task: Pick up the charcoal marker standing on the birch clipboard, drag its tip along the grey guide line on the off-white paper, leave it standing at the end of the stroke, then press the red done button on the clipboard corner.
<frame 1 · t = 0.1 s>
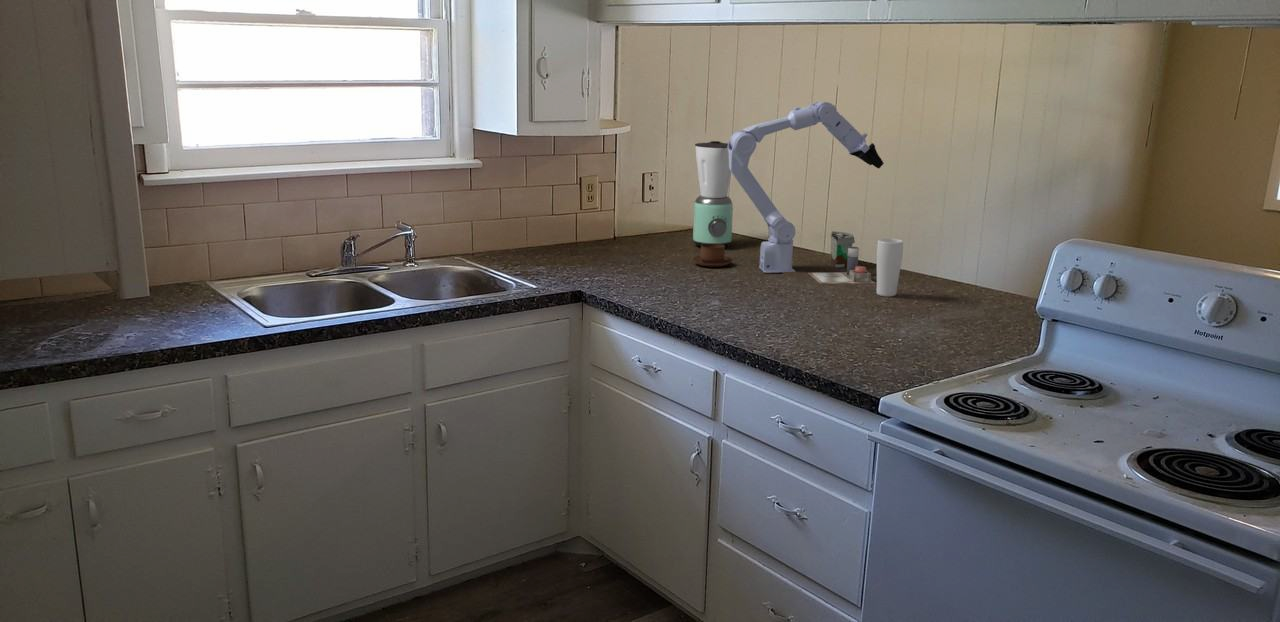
hand: (877, 164, 291), 32 cm above the counter, tool tilted 50°, fingers open, 7 cm apart
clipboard: (840, 279, 285), on the counter
drinking glass: (886, 295, 267), on the counter
cup and saucer: (712, 266, 303), on the counter
done button: (860, 270, 281), point 3 cm above the counter, slide at 0.0 cm
mint green blender: (711, 246, 333), on the counter
marker: (851, 274, 289), point 1 cm above the counter, touching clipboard
food container: (842, 267, 303), on the counter
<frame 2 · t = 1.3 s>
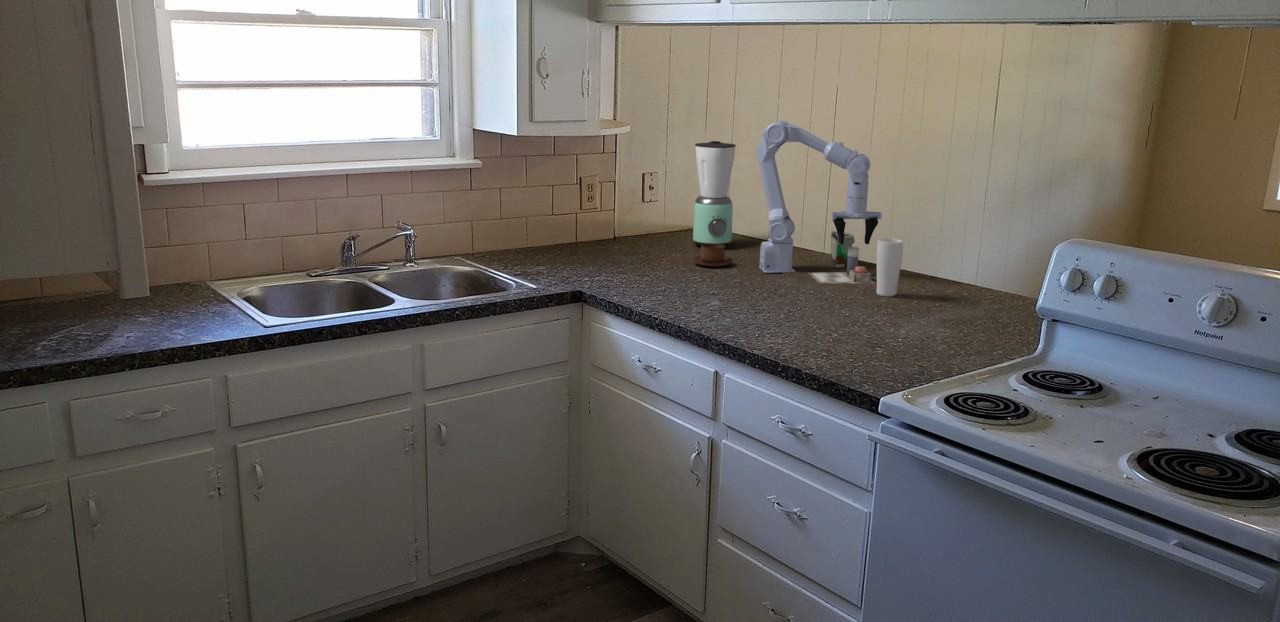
hand: (853, 243, 287), 10 cm above the counter, tool pointing down, fingers open, 7 cm apart
nothing on the counter moved.
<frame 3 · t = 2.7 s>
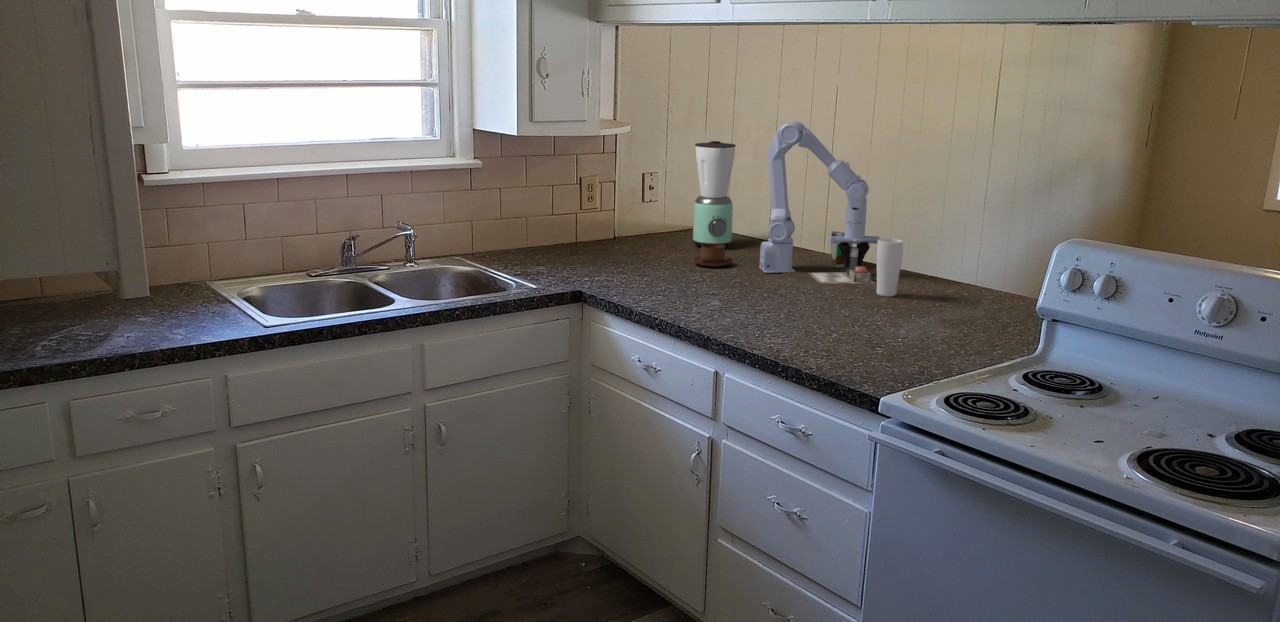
hand: (852, 267, 289), 3 cm above the counter, tool pointing down, fingers closed on marker, 3 cm apart
marker: (851, 274, 289), point 1 cm above the counter, touching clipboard, gripper
everything else where it was.
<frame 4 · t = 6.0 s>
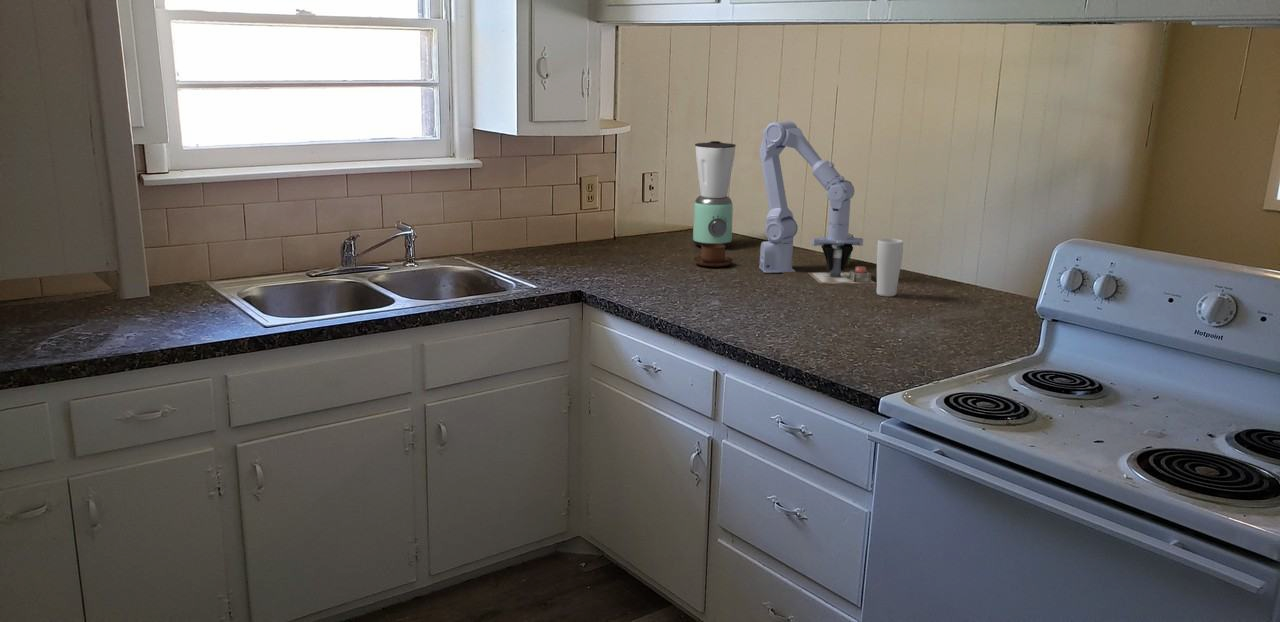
hand: (835, 269, 285), 3 cm above the counter, tool pointing down, fingers closed on marker, 3 cm apart
marker: (835, 276, 286), point 1 cm above the counter, touching gripper
everything else where it was.
when the fingers open (3 cm above the counter, at t = 7.1 s): marker stays where it is, resting on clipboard.
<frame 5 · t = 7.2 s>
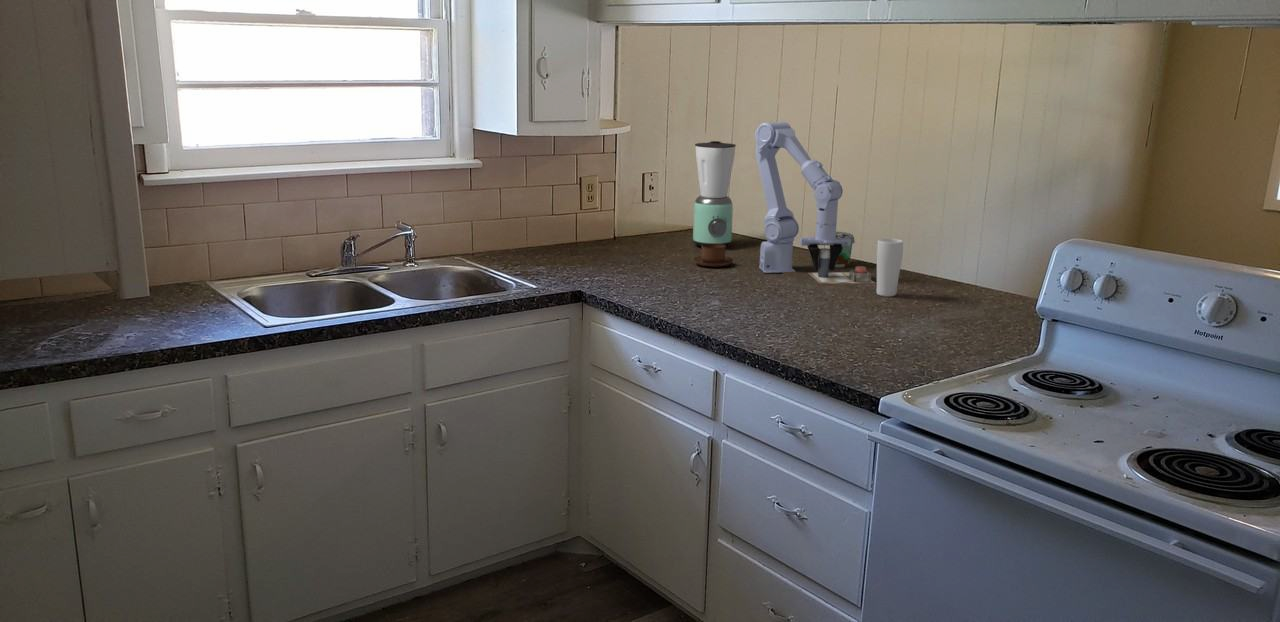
hand: (823, 269, 285), 3 cm above the counter, tool pointing down, fingers open, 4 cm apart
marker: (823, 276, 285), point 1 cm above the counter, touching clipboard
everything else where it was.
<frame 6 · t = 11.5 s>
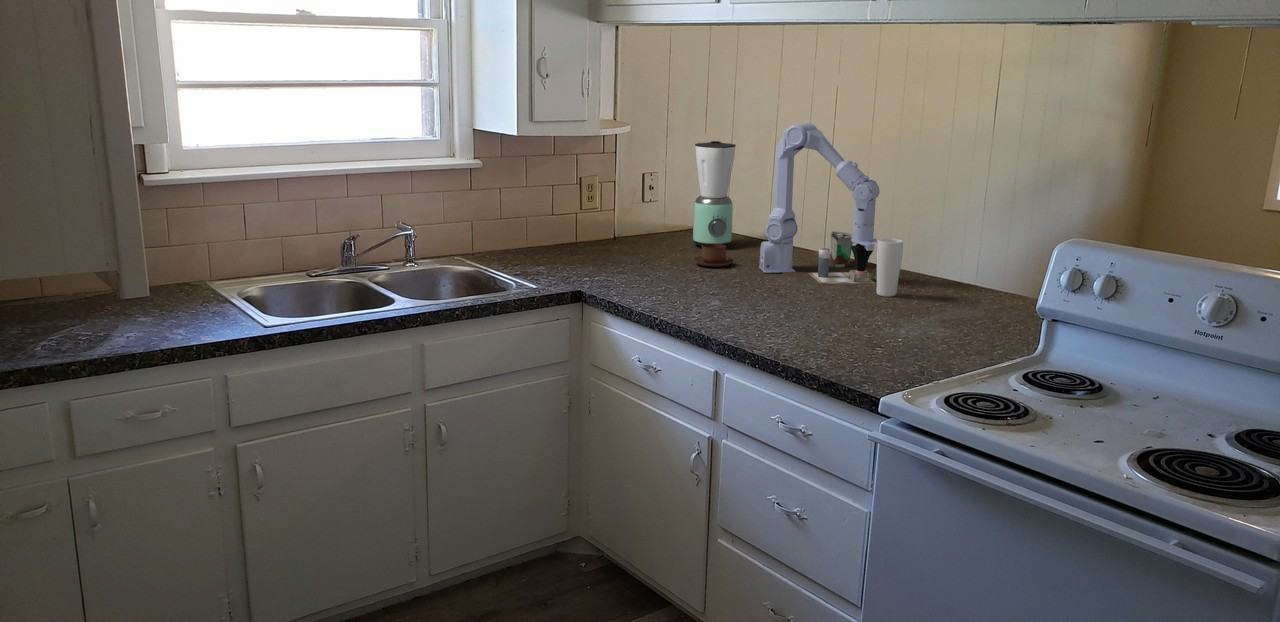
hand: (860, 270, 281), 3 cm above the counter, tool pointing down, fingers closed, pressing on done button
done button: (860, 274, 281), point 2 cm above the counter, slide at 1.0 cm, touching gripper
everything else where it was.
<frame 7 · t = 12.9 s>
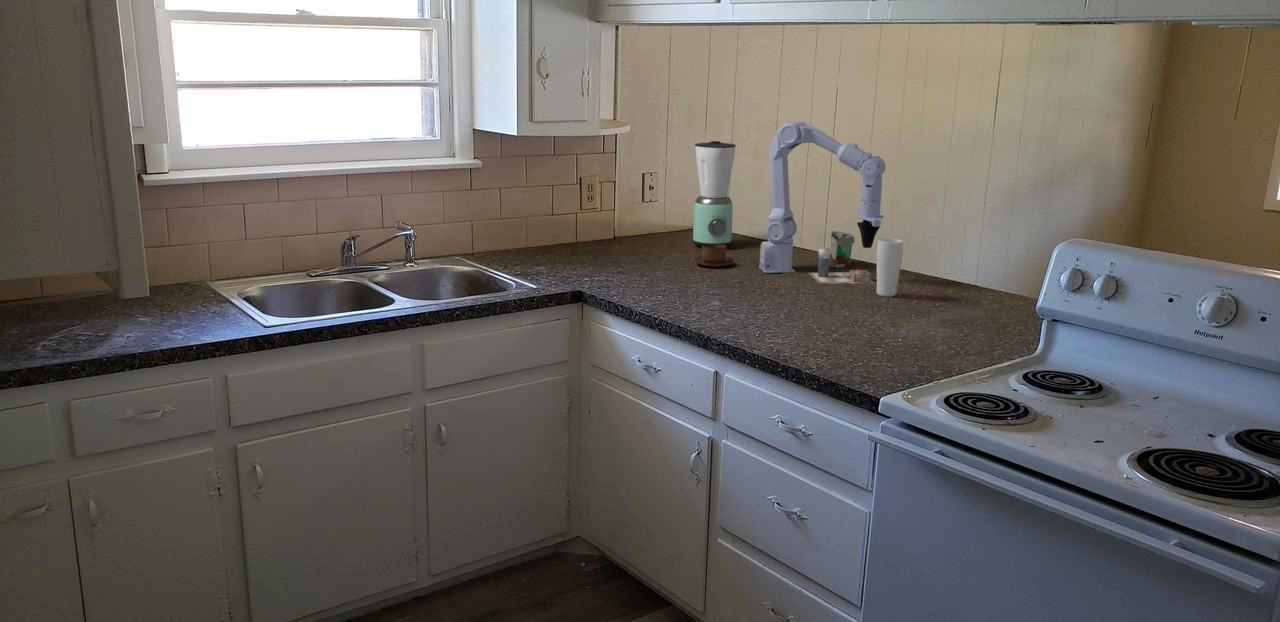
hand: (867, 247, 281), 10 cm above the counter, tool pointing down, fingers closed
done button: (860, 274, 281), point 2 cm above the counter, slide at 1.1 cm
everything else where it was.
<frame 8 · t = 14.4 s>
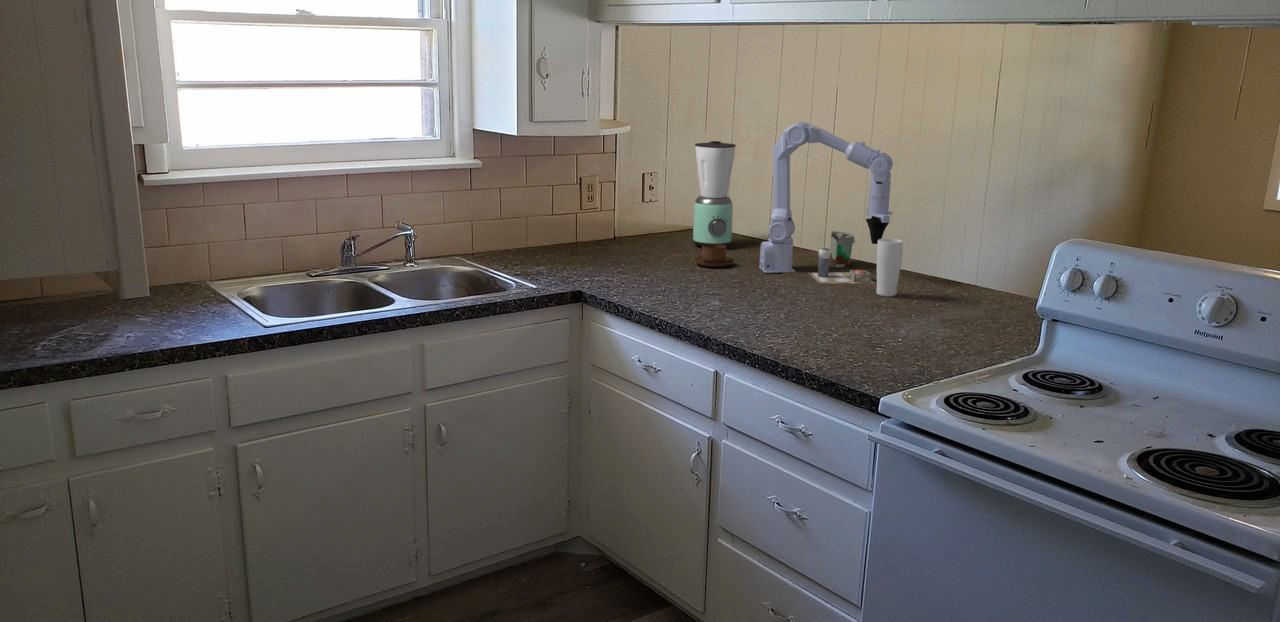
hand: (875, 243, 284), 10 cm above the counter, tool pointing down, fingers closed
nothing on the counter moved.
at the end: marker 0.2 cm from the target spot, point 0.8 cm above the counter; marker tilted 1°; done button slide at 1.1 cm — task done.
